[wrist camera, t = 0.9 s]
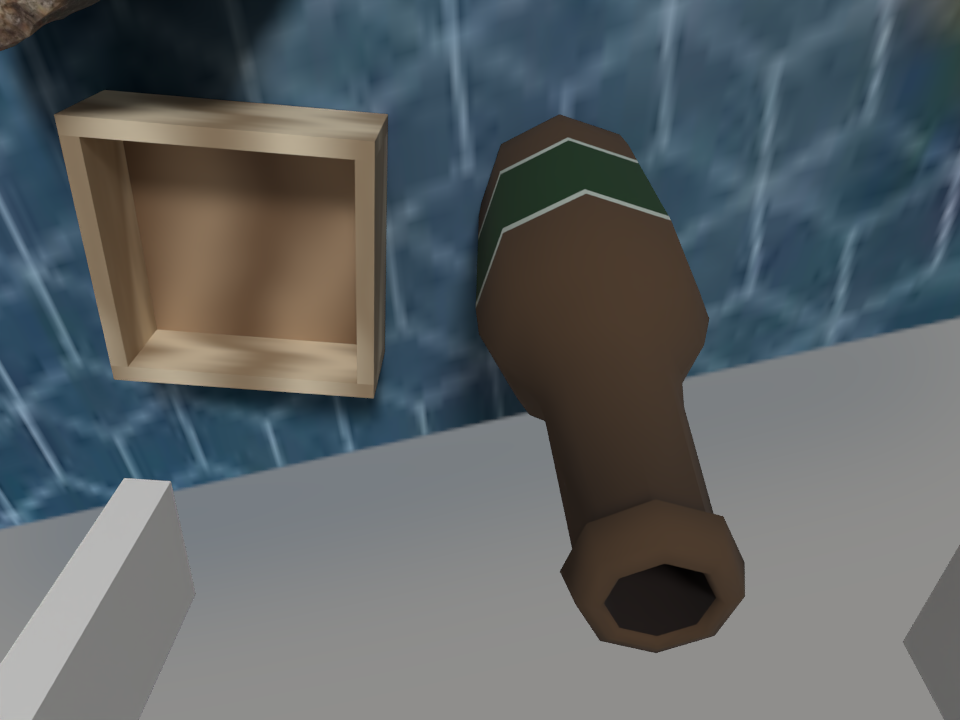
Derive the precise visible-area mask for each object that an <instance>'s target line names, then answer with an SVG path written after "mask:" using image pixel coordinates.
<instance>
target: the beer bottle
mask: <svg viewBox="0 0 960 720" xmlns="http://www.w3.org/2000/svg"><path fill="white" fill-rule="evenodd" d="M476 314H477V322H478V329H479V335H480V337H481V338H482V340H483V342H484V343H485V345H486V347H487V348H488V350H489V352H490V353H491V355H492V357H493V359H494V360H495V362H496V364H497V365H498V367H499V369H500V370H501V372H502V374H503V375H504V377H505V379H506V380H507V382H508V384H509V385H510V387H511V389H512V390H513V392H514V394H515V395H516V397H517V399H518V400H519V401H520V403H521V404H522V405H523V407H524V408H525V409H526V411H527V412H528V413H529V415H531V416H534V417H536V418H539V419H541V420H544V421H545V422H546V426H547V431H548V435H549V441H550V445H551V450H552V455H553V459H554V464H555V469H556V473H557V479H558V483H559V488H560V493H561V497H562V502H563V507H564V512H565V516H566V521H567V526H568V530H569V536H570V540H571V545H572V551H571V552H570V554H569V556H568V558H567V560H566V561H565V563H564V565H563V567H562V569H561V571H560V573H561V574H562V577H563V579H564V581H565V583H566V585H567V587H568V589H569V591H570V593H571V596H572V598H573V599H574V602H575V604H576V605H577V607H578V608H579V610H580V612H581V613H582V615H583V616H584V617H585V619H586V621H587V622H588V623H589V625H590V626H591V628H592V630H593V631H594V632H595V634H596V636H597V637H598V638H599V640H600V641H604V642H608V643H613V644H617V645H622V646H626V647H631V648H636V649H640V650H645V651H649V652H654V653H658V652H661V651H664V650H668V649H671V648H674V647H678V646H681V645H685V644H688V643H691V642H695V641H698V640H702V639H705V638H708V637H712V636H714V635H715V634H716V633H717V632H718V631H719V629H720V628H721V627H722V625H723V624H724V623H725V621H726V620H727V619H728V618H729V616H730V615H731V614H732V612H733V611H734V610H735V608H736V607H737V606H738V605H739V603H740V602H741V601H742V599H743V598H744V597H745V576H744V575H745V571H744V570H745V569H744V560H743V558H742V556H741V554H740V552H739V550H738V547H737V545H736V543H735V541H734V539H733V537H732V535H731V532H730V530H729V528H728V526H727V524H726V521H725V519H724V517H723V516H719V515H716V514H713V510H712V507H711V504H710V499H709V496H708V493H707V489H706V485H705V482H704V478H703V475H702V470H701V467H700V463H699V460H698V456H697V452H696V449H695V445H694V442H693V438H692V434H691V431H690V427H689V423H688V420H687V416H686V413H685V409H684V401H683V387H682V383H683V381H684V379H685V377H686V376H687V374H688V372H689V370H690V369H691V367H692V365H693V363H694V362H695V360H696V358H697V356H698V354H699V353H700V351H701V349H702V347H703V346H704V342H705V337H706V332H707V327H708V322H709V317H708V314H707V312H706V309H705V306H704V303H703V300H702V298H701V295H700V292H699V290H698V287H697V285H696V282H695V280H694V277H693V275H692V272H691V270H690V267H689V265H688V262H687V260H686V257H685V254H684V252H683V249H682V247H681V244H680V242H679V239H678V237H677V234H676V232H675V229H674V227H673V224H672V222H671V220H670V218H669V216H668V214H667V213H666V211H665V209H664V207H663V206H662V204H661V202H660V200H659V198H658V197H657V195H656V193H655V191H654V190H653V188H652V186H651V184H650V183H649V181H648V179H647V177H646V176H645V174H644V172H643V170H642V169H641V167H640V165H639V163H638V161H637V160H636V158H635V156H634V154H633V153H632V151H631V149H630V147H629V146H628V144H627V143H626V142H625V140H624V139H623V138H622V137H621V136H620V135H619V134H616V133H613V132H610V131H607V130H604V129H601V128H598V127H595V126H592V125H589V124H586V123H583V122H580V121H577V120H574V119H571V118H569V117H566V116H563V115H560V114H559V115H557V116H555V117H553V118H551V119H550V120H548V121H546V122H544V123H542V124H540V125H538V126H536V127H534V128H532V129H530V130H528V131H526V132H524V133H522V134H520V135H518V136H516V137H514V138H512V139H510V140H508V141H506V142H505V143H503V144H501V146H500V149H499V152H498V155H497V158H496V161H495V164H494V167H493V170H492V173H491V176H490V179H489V182H488V185H487V188H486V191H485V194H484V197H483V200H482V203H481V208H480V213H479V229H478V258H477V288H476Z"/></svg>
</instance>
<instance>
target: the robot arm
mask: <svg viewBox="0 0 960 720" xmlns="http://www.w3.org/2000/svg"><path fill="white" fill-rule="evenodd" d="M195 594H196V593H195V588H194V584H193V579H192V575H191V570H190V566H189V561H188V557H187V553H186V548H185V543H184V539H183V534H182V530H181V525H180V521H179V516H178V512H177V507H176V503H175V498H174V493H173V489H172V484H171V481H158V480H143V479H129V478H124V479H123V481H122V482H121V484H120V485H119V487H118V488H117V490H116V491H115V493H114V494H113V496H112V497H111V499H110V500H109V502H108V503H107V505H106V506H105V508H104V509H103V511H102V512H101V514H100V515H99V517H98V519H97V520H96V521H95V523H94V524H93V526H92V528H91V529H90V530H89V532H88V533H87V535H86V536H85V538H84V539H83V541H82V543H81V544H80V545H79V547H78V548H77V550H76V551H75V553H74V555H73V556H72V558H71V559H70V560H69V562H68V563H67V565H66V566H65V568H64V569H63V571H62V572H61V574H60V575H59V577H58V578H57V580H56V581H55V583H54V584H53V586H52V588H51V589H50V590H49V592H48V593H47V595H46V596H45V598H44V599H43V601H42V602H41V604H40V605H39V607H38V608H37V610H36V611H35V613H34V614H33V616H32V617H31V619H30V620H29V622H28V623H27V625H26V626H25V628H24V629H23V631H22V632H21V634H20V636H19V637H18V638H17V640H16V641H15V643H14V644H13V646H12V647H11V649H10V651H9V652H8V653H7V655H6V657H5V658H4V659H3V661H2V662H1V664H0V720H139V718H140V716H141V714H142V712H143V709H144V707H145V705H146V703H147V701H148V698H149V696H150V694H151V692H152V689H153V687H154V685H155V683H156V680H157V678H158V676H159V674H160V672H161V669H162V667H163V665H164V663H165V661H166V659H167V656H168V654H169V652H170V650H171V647H172V645H173V643H174V641H175V639H176V636H177V634H178V632H179V630H180V627H181V625H182V623H183V621H184V619H185V616H186V614H187V612H188V610H189V608H190V605H191V603H192V601H193V599H194V597H195ZM903 643H904V645H905V647H906V649H907V651H908V653H909V654H910V656H911V658H912V660H913V662H914V664H915V665H916V667H917V669H918V671H919V673H920V675H921V677H922V679H923V681H924V682H925V684H926V686H927V688H928V690H929V692H930V694H931V696H932V698H933V699H934V701H935V703H936V705H937V707H938V709H939V711H940V713H941V715H942V716H943V718H944V720H960V545H959V547H958V549H957V550H956V552H955V554H954V556H953V557H952V559H951V561H950V562H949V564H948V566H947V568H946V570H945V571H944V573H943V575H942V576H941V578H940V579H939V581H938V583H937V585H936V586H935V588H934V590H933V591H932V593H931V595H930V597H929V598H928V600H927V602H926V603H925V605H924V607H923V608H922V610H921V612H920V614H919V615H918V617H917V619H916V620H915V622H914V624H913V625H912V627H911V629H910V631H909V632H908V634H907V636H906V637H905V639H904V641H903Z"/></svg>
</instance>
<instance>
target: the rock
mask: <svg viewBox="0 0 960 720" xmlns="http://www.w3.org/2000/svg"><path fill="white" fill-rule="evenodd" d="M98 1H100V0H0V51H2V50H5V49H8V48H10V47H13V46H15V45H17V44H18V43H20V42H21V41H23V40H24V39H26V38H27V37H30V36H31V35H32V34H33V33H35V32H36V31H37V30H38V29H39V28H41V27H42V26H43V25H45V24H47V23H49V22H52V21H55V20H61V19H64V18H65V17H67V16H68V15H70V14H71V13H74V12H76V11H79V10H81V9H84V8H86V7H89V6H91V5H93V4H95V3H96V2H98Z"/></svg>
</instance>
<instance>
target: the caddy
mask: <svg viewBox="0 0 960 720" xmlns="http://www.w3.org/2000/svg"><path fill="white" fill-rule="evenodd" d="M54 117H55V121H56V125H57V130H58V134H59V139H60V143H61V147H62V152H63V156H64V161H65V165H66V170H67V174H68V178H69V183H70V187H71V192H72V196H73V200H74V205H75V209H76V214H77V218H78V222H79V227H80V231H81V236H82V240H83V244H84V249H85V253H86V258H87V262H88V266H89V271H90V275H91V280H92V284H93V288H94V293H95V297H96V302H97V306H98V310H99V315H100V319H101V324H102V328H103V332H104V337H105V341H106V346H107V350H108V355H109V359H110V363H111V368H112V372H113V377H114V379H115V380H128V381H142V382H156V383H170V384H183V385H197V386H211V387H225V388H238V389H252V390H266V391H280V392H293V393H307V394H321V395H334V396H348V397H362V398H374V395H375V391H376V387H377V382H378V378H379V374H380V369H381V365H382V361H383V357H384V352H385V289H386V212H387V135H388V114H378V113H367V112H355V111H344V110H332V109H320V108H309V107H297V106H285V105H274V104H262V103H251V102H239V101H227V100H216V99H204V98H192V97H181V96H169V95H158V94H146V93H134V92H123V91H111V90H103V91H101V92H99V93H97V94H95V95H93V96H91V97H89V98H87V99H85V100H83V101H81V102H79V103H77V104H74V105H72V106H70V107H68V108H66V109H64V110H62V111H60V112H58V113H56V114H54Z"/></svg>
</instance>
